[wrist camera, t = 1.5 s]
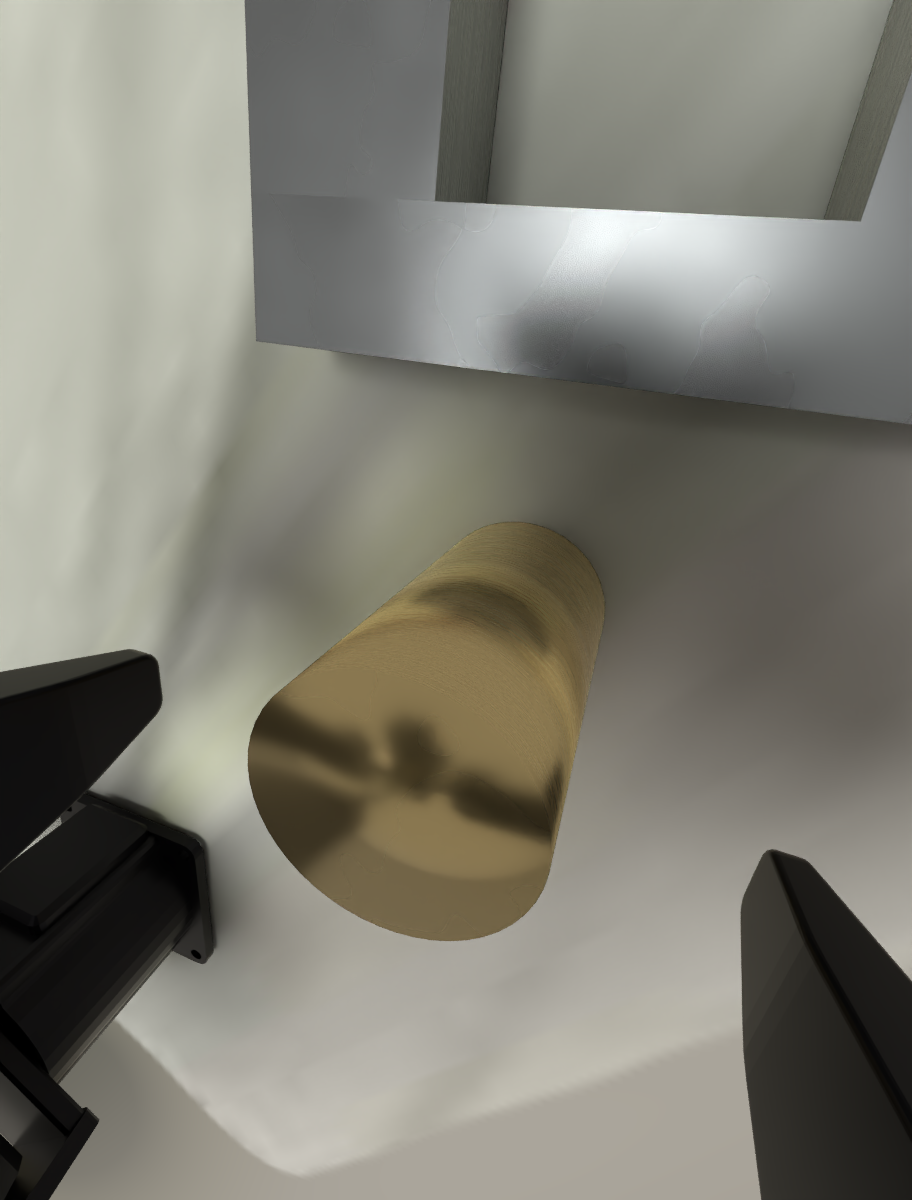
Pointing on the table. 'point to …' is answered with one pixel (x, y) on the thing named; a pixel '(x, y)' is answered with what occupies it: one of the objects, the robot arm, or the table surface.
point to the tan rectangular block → (439, 739)
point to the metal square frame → (555, 229)
